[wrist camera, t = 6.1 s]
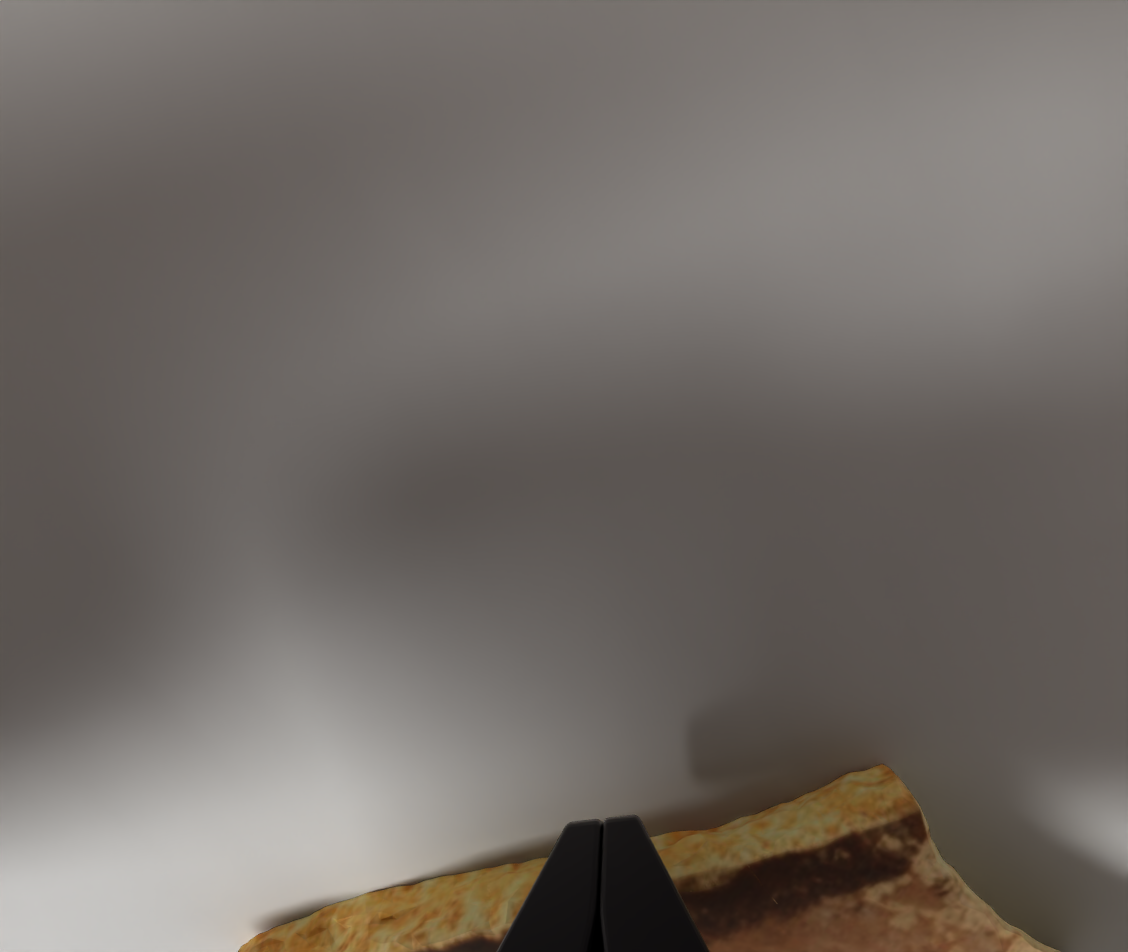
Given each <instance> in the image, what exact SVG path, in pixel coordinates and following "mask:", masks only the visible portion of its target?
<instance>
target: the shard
mask: <svg viewBox="0 0 1128 952" xmlns="http://www.w3.org/2000/svg"><path fill="white" fill-rule="evenodd" d="M650 838H651V840H652V842H653V844H654V846H655V848H656V850H657V852H658V854H659V856H660V857H661V859H662V861H663V863H664V865H665V867H666V869H667V871H668V873H669V875H670V877H671V879H672V880H673V882H674V884H675V886H676V888H677V890H678V892H679V894H680V896H681V898H682V900H683V901H684V903H685V905H686V907H687V909H688V911H689V913H690V915H691V917H692V919H693V921H694V922H695V924H696V926H697V928H698V930H699V932H700V934H701V936H702V938H703V940H704V942H705V944H706V945H707V947H708V949H709V951H710V952H1061V951H1058V950H1056V949H1053V948H1051V947H1048V946H1046V945H1044V944H1042V943H1040V942H1038V941H1036V940H1035V939H1033V938H1032V937H1031V936H1029V935H1028V934H1026V933H1025V932H1024V931H1022V930H1021V929H1019V928H1016V927H1014V926H1012V925H1009V924H1008V923H1007V922H1005V921H1004V920H1003V919H1001V918H1000V917H999V916H998V915H997V914H996V913H995V911H994V910H993V909H992V908H991V907H990V906H989V905H988V904H987V903H985V902H984V901H983V900H982V899H981V898H980V897H978V896H977V895H976V894H975V893H974V892H973V891H972V890H971V889H970V888H969V887H968V886H967V885H966V884H965V882H964V880H963V879H962V878H961V877H960V875H959V874H958V873H957V872H956V870H955V869H954V868H953V867H952V866H950V865H949V864H947V863H945V861H944V860H943V859H942V857H941V855H940V853H939V851H938V849H937V847H936V845H935V844H934V842H933V841H932V839H931V837H930V831H929V826H928V824H927V821H926V819H925V816H924V814H923V811H922V809H921V807H920V805H919V804H918V803H917V801H916V800H915V798H914V797H913V795H912V794H911V792H910V791H909V790H908V788H907V787H906V786H905V785H904V783H903V782H902V781H901V779H900V778H899V777H898V776H896V775H895V773H894V772H893V771H892V770H891V769H890V768H888V767H887V766H885V765H884V764H881V765H878V766H875V767H873V768H871V769H868V770H866V771H859V772H850V773H848V774H845V775H843V776H841V777H839V778H838V779H836V780H834V781H833V782H831V783H830V784H828V785H826V786H824V787H822V788H820V789H817V790H815V791H813V792H810V793H807V794H804V795H802V796H801V797H799V798H797V799H795V800H793V801H791V802H788V803H780V804H779V805H777V806H774V807H771V808H769V809H766V810H764V811H762V812H760V813H758V814H755V815H750V816H745V817H741V818H738V819H736V820H734V821H732V822H730V823H728V824H725V825H722V826H720V827H717V828H712V829H708V830H694V831H676V832H670V833H666V834H662V835H659V836H654V837H650ZM547 859H548V857H547V858H538V859H534V860H530V861H527V862H524V863H520V864H517V863H510V864H504V865H502V866H498V867H494V868H484V869H481V870H477V871H472V872H467V873H462V874H457V875H449V876H441V877H437V878H434V879H430V880H425V881H423V882H420V883H418V884H415V885H409V886H397V887H392V888H388V889H385V890H381V891H376V892H370V893H366V894H363V895H360V896H358V897H355V898H353V899H349V900H346V901H342V902H338V903H335V904H332V905H329V906H326V907H324V908H322V909H321V910H318V911H316V912H314V913H313V914H312V915H310V916H307V917H304V918H302V919H298V920H295V921H292V922H291V923H287V924H284V925H281V926H277V927H275V928H272V929H271V930H269V931H267V932H264V933H261V934H258V935H257V936H255V937H254V938H253V939H251V940H250V941H249V942H248V943H246V944H244V945H243V946H242V947H241V948H240V949H239V951H238V952H497V950H498V948H499V946H500V944H501V942H502V941H503V939H504V937H505V935H506V933H507V932H508V930H509V928H510V926H511V924H512V922H513V921H514V919H515V917H516V915H517V913H518V911H519V910H520V908H521V906H522V904H523V902H524V901H525V899H526V897H527V895H528V893H529V891H530V890H531V888H532V886H533V884H534V882H535V881H536V879H537V877H538V875H539V873H540V871H541V870H542V868H543V866H544V864H545V862H546V861H547Z"/></svg>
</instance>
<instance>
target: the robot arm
mask: <svg viewBox="0 0 1128 952" xmlns="http://www.w3.org/2000/svg"><path fill="white" fill-rule="evenodd" d="M497 952H710V951H709V949H708V947H707V945H706V944H705V942H704V940H703V938H702V936H701V934H700V932H699V930H698V928H697V926H696V924H695V922H694V921H693V919H692V917H691V915H690V913H689V911H688V909H687V907H686V905H685V903H684V901H683V900H682V898H681V896H680V894H679V892H678V890H677V888H676V886H675V884H674V882H673V880H672V879H671V877H670V875H669V873H668V871H667V869H666V867H665V865H664V863H663V861H662V859H661V857H660V856H659V854H658V852H657V850H656V848H655V846H654V844H653V842H652V840H651V838H650V836H649V835H648V833H647V831H646V829H645V827H644V825H643V823H642V821H641V820H640V818H639V817H638V816H636V815H628V816H619V817H610V818H607V819H605V821H604V823H603V822H602V821H600V820H599V819H592V820H583V821H575V822H570V823H568V824H567V825H566V826H565V828H564V830H563V831H562V833H561V835H560V837H559V839H558V840H557V842H556V844H555V846H554V848H553V850H552V851H551V853H550V855H549V857H548V859H547V861H546V862H545V864H544V866H543V868H542V870H541V871H540V873H539V875H538V877H537V879H536V881H535V882H534V884H533V886H532V888H531V890H530V891H529V893H528V895H527V897H526V899H525V901H524V902H523V904H522V906H521V908H520V910H519V911H518V913H517V915H516V917H515V919H514V921H513V922H512V924H511V926H510V928H509V930H508V932H507V933H506V935H505V937H504V939H503V941H502V942H501V944H500V946H499V948H498V950H497Z"/></svg>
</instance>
